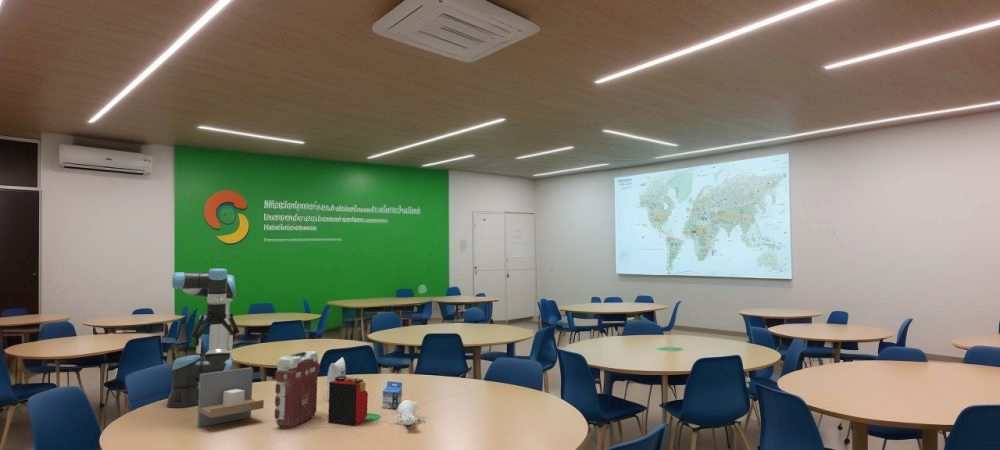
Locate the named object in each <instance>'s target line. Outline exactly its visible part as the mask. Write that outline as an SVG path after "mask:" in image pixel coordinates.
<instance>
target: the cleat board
mask: <svg viewBox="0 0 1000 450" xmlns="http://www.w3.org/2000/svg"><path fill="white" fill-rule="evenodd" d="M253 369H254V368H253V367H252V366H251V367H243V368H237V369H236V368H235V369H231V370H227V371H219V372H211V373H203V374H200V379H199V400H198V405H197V422H196V423H197V428H198V427H199V428H202V426H203V427H206V426H207V427H208V426H212V425H217V424H222V423H223V424H224V423H227V422H233V421H237V420H239V421H240V420H244V419H249V418H251V417H252V411H256V410H261V409H264V407H265V406H264V401H265V400H264V399H260V400H255V399H252V395H253V394H252V393H253V374H254V373H253V371H254V370H253ZM233 389H239V390H245V393H244V403H241V404H235V405H230V406H223V394H224V391H228V390H233Z"/></svg>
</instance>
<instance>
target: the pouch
mask: <svg viewBox="0 0 1000 450" xmlns="http://www.w3.org/2000/svg"><path fill="white" fill-rule="evenodd" d="M345 361H346V360H345V359H344V357H343V356H342V357H340V359H338V360H337V361H335V363H334V362H332V363H331V364H330V365H329V367H328V370H327V378H326V379H327V381H326V395H327V400H328V401H329V382H331V381H335V378H336V377H342V376H344V377H347V376H346V372H347V369H346V368H347V367H346V362H345Z"/></svg>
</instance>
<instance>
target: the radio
mask: <svg viewBox="0 0 1000 450" xmlns="http://www.w3.org/2000/svg"><path fill="white" fill-rule="evenodd" d="M368 396H369V394H368V391H367V390H366V382H365V381H364V379H362V378H354V377H348V376H345V377H344V376H342V377H336V378H335V381H331V382H329V400H328V420H327V421H328V423H329V424H339V425H345V426H346V425H348V426H359V425H360V423H363V422H365V421H366V418H367V416H368V398H369V397H368Z"/></svg>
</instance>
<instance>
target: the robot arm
mask: <svg viewBox="0 0 1000 450" xmlns="http://www.w3.org/2000/svg"><path fill="white" fill-rule="evenodd" d="M171 284H172V288H173V289H175V290H176V289H177V290H178V289H179V290H182V291H183V292H184V293H185V294H187V295H189V296H194V297H199V298H202V297H203V298H206V299H207V301H206V302H207V303H208V304H206V315H203V314H199V316H198V319H197V322H196V324H195V325H194V326H193V329H192V331H191V333H190V334H189V336H190V338H194V344H193V345H194V347H195V346H196V349H195V350H196V351H195V353H196V354H191V355H186V356H181V357H178V358H176V359H174V360H173V365H172V378H171V379H172V382H171V391H170V392H169V396H168V398H167V401H166V407H167V408H172V409H173V408H175V409H178V408H179V409H180V408H191V407H195V406H198V400H199V379H200V374H203V373H211V372H219V371H227V370H232V366H233V361H234V356H233V355H231V351H232V350H233V346H234V344H233V343H234V342H235V337H236V335H237V334H239V333H240V330H239V327H238V326H237V323H236V322H235V319H234V314H233V313H231V312H230V303H231V302H232V301H233V300H234V297H236V296H237V292H236V283H235V276H234V275H232V274H228V269H226V268H210V269H209V270H208V271H207V272H206V271H200V272H198V271H197V272H194V271H190V272H189V271H184V272H183V271H180V272H179V271H178V272H177V271H176V272H173V274H172V283H171ZM205 319H206V321H205ZM204 321H205V323H204ZM203 323H204V324H203ZM229 324H230V325H229ZM208 328H209V339H208V350H207V351H206V352H205V354H204V357H201V356H200V354H202V353H201V352H202V351H201V350H202V338H201V336H202V335H203V334H204V333H205V332H206V331H207V329H208ZM229 350H230V351H229Z"/></svg>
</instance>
